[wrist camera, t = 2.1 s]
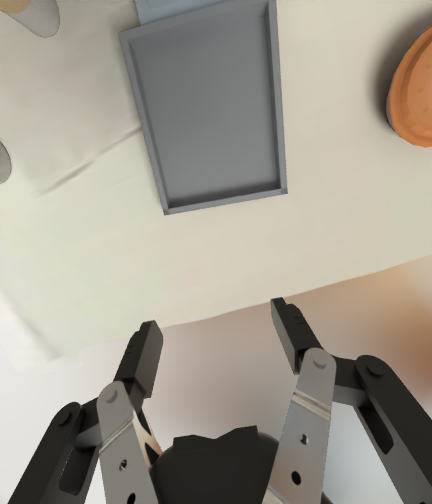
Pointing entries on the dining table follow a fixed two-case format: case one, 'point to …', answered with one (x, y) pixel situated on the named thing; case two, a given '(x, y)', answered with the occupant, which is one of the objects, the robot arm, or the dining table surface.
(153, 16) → the pedestal
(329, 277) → the dining table surface
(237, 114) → the tray
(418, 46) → the pie
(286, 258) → the dining table surface
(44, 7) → the coffee cup
